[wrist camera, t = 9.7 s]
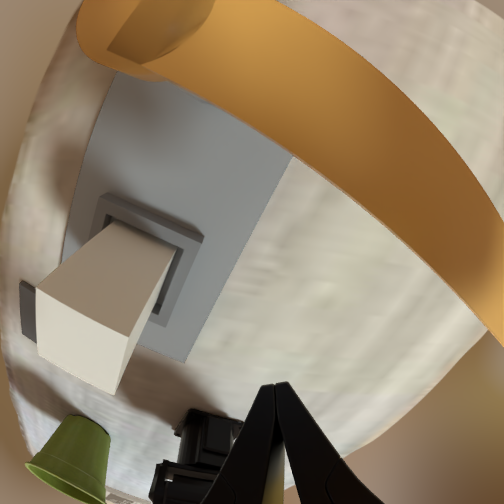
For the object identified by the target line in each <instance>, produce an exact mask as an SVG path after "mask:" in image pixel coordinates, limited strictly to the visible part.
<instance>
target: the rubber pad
mask: <svg viewBox="0 0 504 504" xmlns="http://www.w3.org/2000/svg"><path fill="white" fill-rule="evenodd" d="M19 293H20V314H21V327H22V334H23V335H25V336H26V337H28V338H29V339H31V340H32V341H34V342H35V343H37V335H36V289H35V288H33V287H32V286H30V285H29V284H27V283H26V282H24V281H22V282H21V283H20V284H19Z"/></svg>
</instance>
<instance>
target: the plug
mask: <svg viewBox="0 0 504 504" xmlns="http://www.w3.org/2000/svg"><path fill="white" fill-rule="evenodd" d="M177 248H178V246H175V245H173V244H171V243H169V242H167V241H164V240H162V239H160V238H158V237H156V236H153V235H151V234H149V233H147V232H145V231H143V230H140V229H138V228H136V227H134V226H132V225H130V224H127V223H125V222H123V221H121V220H119V219H116V220H115V221H114V222H112V223H111V224H110V225H109V226H107V227H106V228H105V229H103V230H102V231H101V232H100V233H98V234H97V235H96V236H94V237H93V238H92V239H91V240H90V241H88V242H87V243H86V244H85V245H83V246H82V247H81V248H80V249H79V250H77V251H76V252H75V253H74V254H73V255H71V256H70V257H69V258H68V259H67V260H66V261H64V262H63V263H62V264H61V265H60V266H59V267H58V268H56V269H55V270H54V271H53V272H52V273H51V274H50V275H49V276H47V277H46V278H45V279H44V280H43V281H42V282H41V283H40V284H39V285H38V286H37V287H36V335H37V349H38V355H39V356H41V357H43V358H44V359H46V360H47V361H49V362H51V363H52V364H54V365H56V366H58V367H59V368H61V369H63V370H64V371H66V372H68V373H70V374H72V375H73V376H75V377H77V378H79V379H81V380H83V381H85V382H87V383H89V384H91V385H93V386H95V387H97V388H99V389H101V390H103V391H105V392H107V393H109V394H111V395H115V392H116V390H117V387H118V385H119V383H120V380H121V378H122V375H123V373H124V371H125V368H126V366H127V364H128V362H129V359H130V357H131V355H132V352H133V350H134V348H135V346H136V344H137V341H138V339H139V337H140V335H141V333H142V330H143V328H144V326H145V324H146V322H147V320H148V318H149V316H150V313H151V311H152V309H153V307H154V305H155V303H156V301H157V299H158V297H159V294H160V291H161V288H162V286H163V283H164V281H165V278H166V275H167V273H168V270H169V268H170V265H171V263H172V260H173V258H174V255H175V253H176V250H177Z"/></svg>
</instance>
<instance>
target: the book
mask: <svg viewBox="0 0 504 504" xmlns="http://www.w3.org/2000/svg"><path fill="white" fill-rule="evenodd" d="M105 488H106V499H105V500H108V501H110V502H113V503H115V504H151V502H150V501H147V500H144V499H141V498H138V497H135V496H132V495H129V494H126V493H123V492H121V491H118V490H116V489H113V488H111V487H108V486H106V485H105Z"/></svg>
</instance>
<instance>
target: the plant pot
mask: <svg viewBox="0 0 504 504" xmlns="http://www.w3.org/2000/svg"><path fill="white" fill-rule="evenodd" d="M110 442H111V439H110V436H109V435H107V434H106V433H105V432H104V430H103V429H102V428H101V427H100V426H99V425H97V424H96V423H94V422H92V421H90V420H89V419H87V418H84V417H81V416H72V415H68V416H67V417H66V418H65V419H64V420H63V422H62V423H61V424H60V426H59V427H58V428H57V430H56V431H55V432H54V433H53V435H52V436H51V437H50V439H49V440H48V441H47V443H46V444H45V445H44V447H43V448H42V449H41V451H40V452H38V453H37V454H36V455H35V456H34V457H33V459H32V460H31V461H30V462H25V466H26V467H27V468H28V469H29V470H30V471H31V472H32V473H33V474H34V475H35V476H37V477H38V478H39V479H41V480H42V481H43V482H45V483H46V484H48V485H50V486H51V487H53V488H54V489H56V490H58V491H60V492H62V493H63V494H65V495H67V496H69V497H71V498H74V499H76V500H78V501H80V502H83V503H86V504H107V503H105V499H106V488H105V480H106V471H107V463H108V455H109V448H110Z"/></svg>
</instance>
